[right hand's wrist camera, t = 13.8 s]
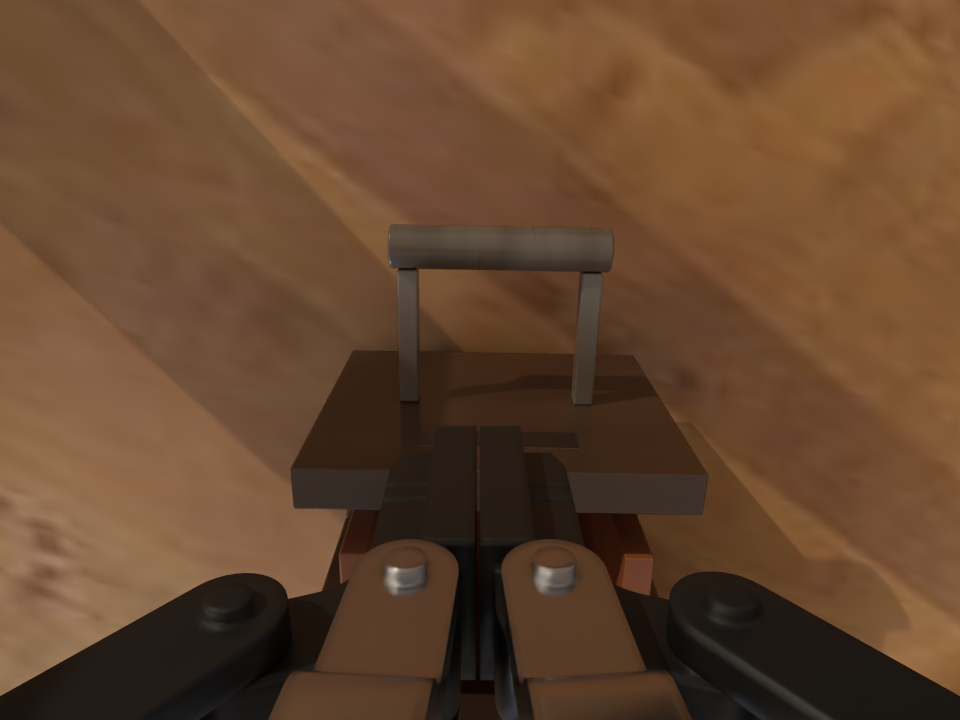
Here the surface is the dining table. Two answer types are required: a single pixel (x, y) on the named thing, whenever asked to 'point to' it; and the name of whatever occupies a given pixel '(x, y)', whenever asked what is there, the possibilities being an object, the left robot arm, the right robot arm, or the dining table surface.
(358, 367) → the drawer
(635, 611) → the right robot arm
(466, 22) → the dining table surface
